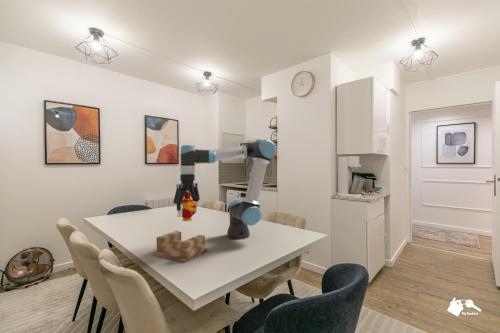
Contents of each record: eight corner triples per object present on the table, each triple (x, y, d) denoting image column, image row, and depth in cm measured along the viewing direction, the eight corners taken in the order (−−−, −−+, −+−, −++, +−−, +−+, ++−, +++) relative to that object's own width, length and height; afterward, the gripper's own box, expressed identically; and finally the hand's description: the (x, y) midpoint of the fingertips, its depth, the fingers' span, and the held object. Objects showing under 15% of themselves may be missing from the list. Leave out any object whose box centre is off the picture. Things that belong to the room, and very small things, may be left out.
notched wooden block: (178, 244, 141) (178, 230, 141) (207, 250, 130) (207, 235, 130) (153, 254, 125) (153, 238, 125) (183, 262, 114) (183, 244, 114)
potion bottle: (173, 221, 125) (173, 192, 125) (185, 217, 134) (185, 191, 135) (189, 222, 121) (190, 193, 121) (200, 218, 131) (201, 191, 131)
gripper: (196, 173, 140) (196, 210, 140) (166, 174, 120) (165, 218, 119) (206, 173, 136) (206, 212, 136) (177, 174, 116) (176, 219, 116)
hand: (187, 214), depth 128 cm, fingers closed on potion bottle, 10 cm apart
